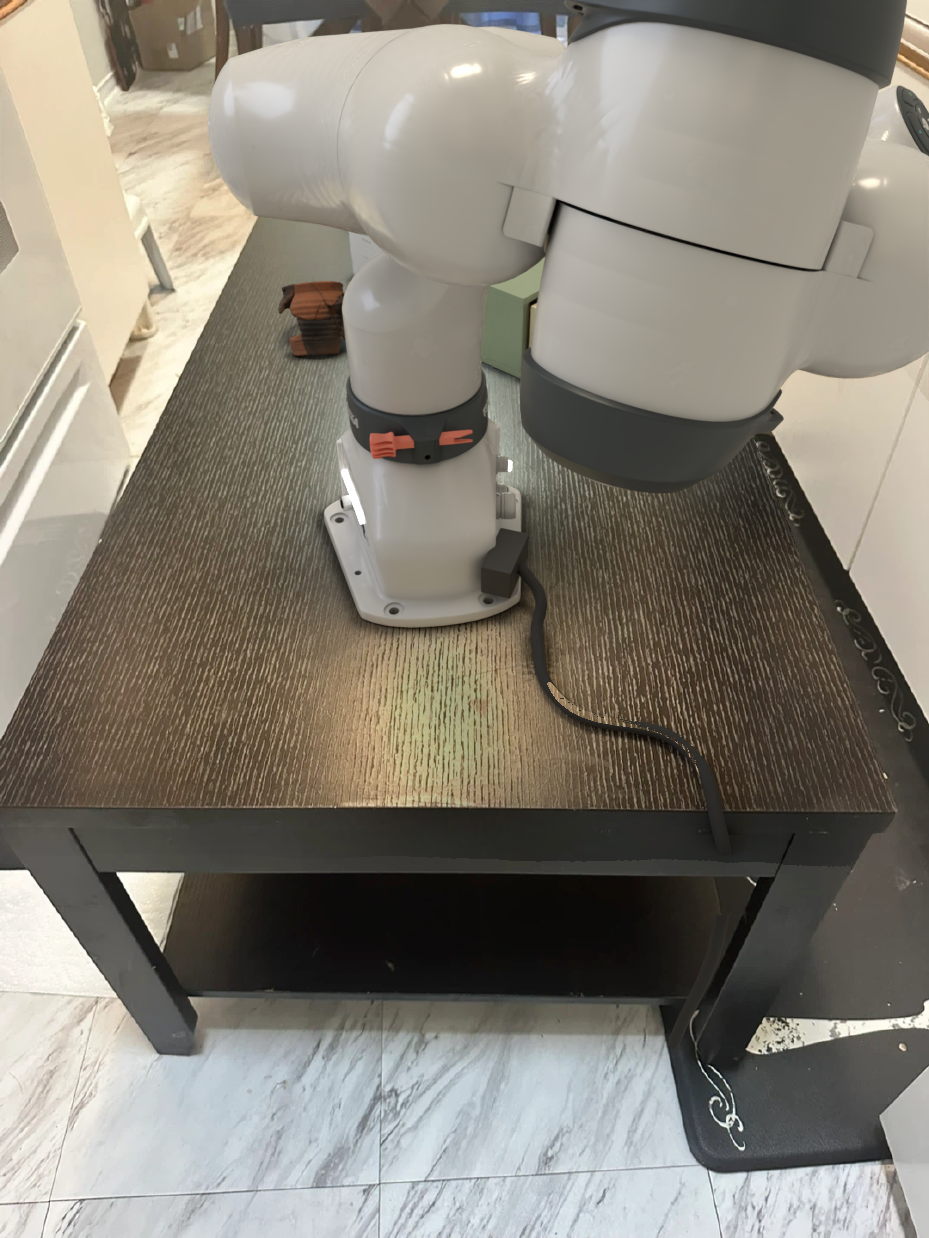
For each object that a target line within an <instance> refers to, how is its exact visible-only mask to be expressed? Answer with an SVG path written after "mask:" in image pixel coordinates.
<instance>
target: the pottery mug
mask: <svg viewBox="0 0 929 1238" xmlns="http://www.w3.org/2000/svg"><path fill="white" fill-rule="evenodd" d="M281 292H282V298H281V299H280V300H279V303H278V308H277V309H278V310H277V311H278V314H280V315H282V314H283V313H284V312H285V310H288V309H289V312H290V314H291V316H292V317H294V318H296V322H297V325H298V328H299V331H300V333H299V334H298V335H293V336H292V335H291V336H289V338H288V341H289V345H290V348H291V350H292V354H293V356H294V357H295V356H298V357H299V356H307V355H308V356H311V355H316V356H323V355H335V354H336V355H337V354H339V353H340V351H341V350H340V344H341V339H342V340H344V341H345V342H346V340H345V331H344V323H343V314H342V303H343V298H344V294H345V291H344V283H343V282H341V281H336V280H318V281H316V280H315V281H311V282H309V281H305V282H299V283H292V284H288V285H286V286H282V287H281Z"/></svg>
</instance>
